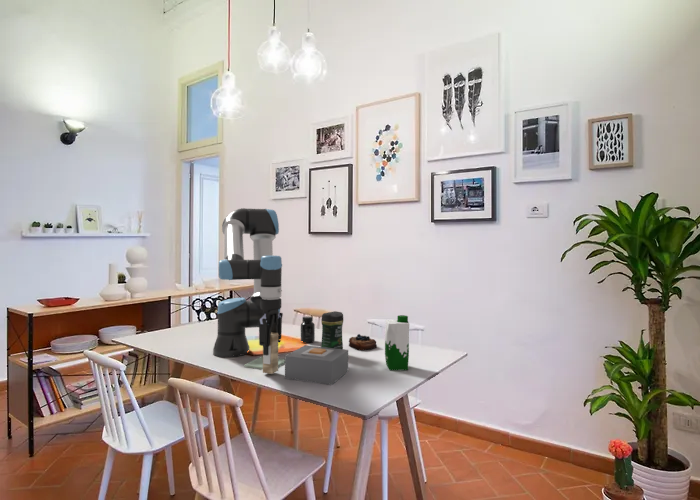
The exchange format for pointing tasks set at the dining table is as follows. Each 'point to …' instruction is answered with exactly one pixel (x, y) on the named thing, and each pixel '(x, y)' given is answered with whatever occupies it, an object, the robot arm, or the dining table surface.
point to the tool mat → (261, 363)
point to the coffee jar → (332, 330)
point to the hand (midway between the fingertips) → (270, 361)
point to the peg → (272, 355)
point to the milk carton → (397, 343)
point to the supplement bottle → (308, 330)
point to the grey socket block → (316, 365)
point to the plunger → (317, 351)
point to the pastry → (362, 343)
